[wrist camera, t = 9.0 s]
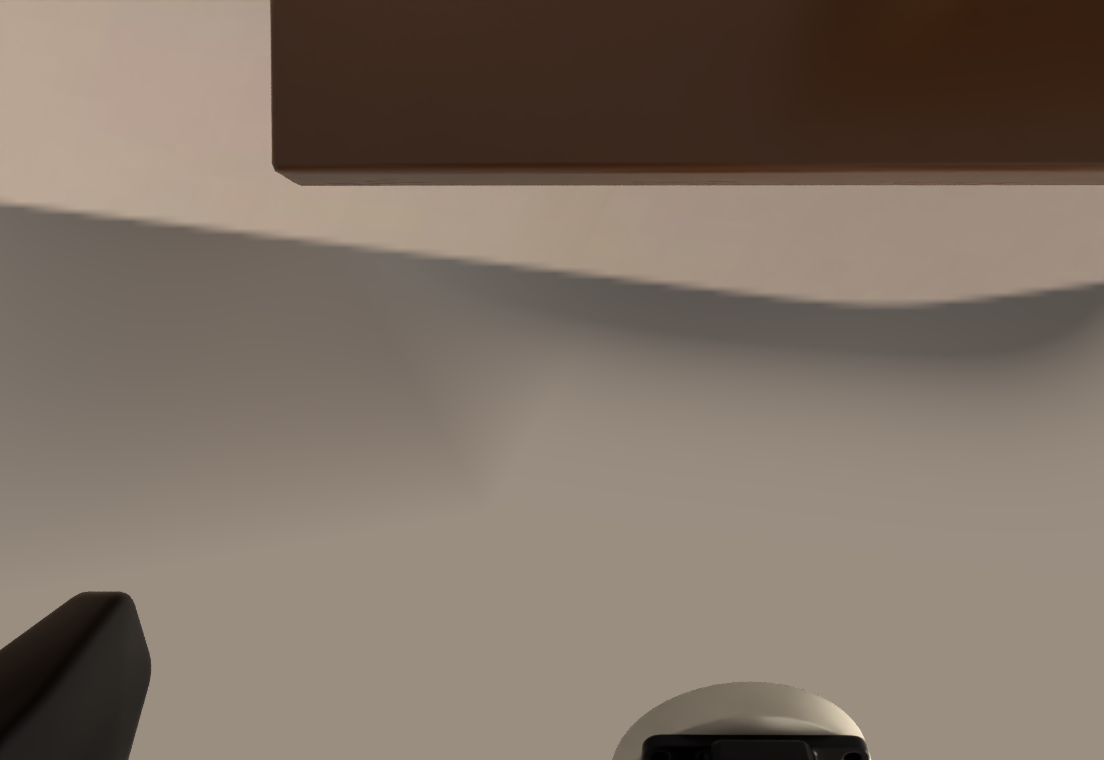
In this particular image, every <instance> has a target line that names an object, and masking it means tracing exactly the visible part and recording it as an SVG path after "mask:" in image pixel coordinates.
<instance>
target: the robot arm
mask: <svg viewBox="0 0 1104 760" xmlns="http://www.w3.org/2000/svg"><path fill="white" fill-rule="evenodd" d="M150 676H151V659H150V654H149V651H148V647H147V644H146V641H145V637H144V634H143V630H142V627H141V624H140V620H139V617H138V614H137V610H136V607H135V604H134V602H133V600H132V599H131V597H130V596H129V595H128V594H126V593H123V592H83V593H80V594H78V595H76V596H74V597H73V598H71V599H70V600H68V601H67V602H66V603H64V604H63V605H62V606H60V607H59V608H57V609H56V610H55V611H53V612H52V613H50V614H49V615H48V616H46V617H45V618H44V619H42V620H41V621H40V622H38V623H37V624H35V625H34V626H33V627H31V628H30V629H29V630H27V631H26V632H25V633H23V634H22V635H20V636H19V637H18V638H16V639H15V640H13V641H12V642H11V643H9V644H8V645H7V646H5V647H4V648H2V649H1V650H0V760H128V758H129V755H130V751H131V748H132V744H133V740H134V737H135V733H136V730H137V726H138V722H139V718H140V715H141V711H142V708H143V704H144V700H145V697H146V694H147V690H148V686H149V682H150ZM869 759H870V755H869V751H868V748H867V745H866V742H865V741H864V740H863V739H862V738H861V737H859V736H853V735H688V734H659V735H653V736H651V737H648V738H647V739H646V740H645V741H644V742H643V745H642V756H641V760H869Z"/></svg>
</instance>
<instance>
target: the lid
mask: <svg viewBox="0 0 1104 760" xmlns="http://www.w3.org/2000/svg"><path fill="white" fill-rule="evenodd" d="M270 14H271V114H272V165H273V167H274V169H275V171H276V172H278V173H280V174H281V175H283V176H284V177H286V178H288V179H289V180H291V181H293V182H294V183H297V184H299V185H301V186H381V185H1104V0H270Z"/></svg>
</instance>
